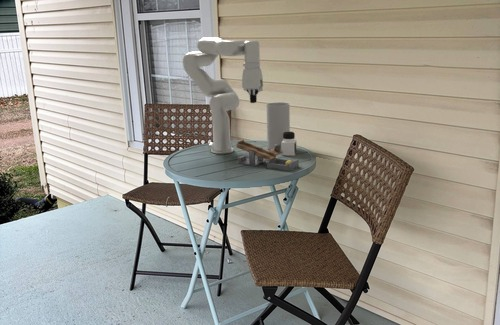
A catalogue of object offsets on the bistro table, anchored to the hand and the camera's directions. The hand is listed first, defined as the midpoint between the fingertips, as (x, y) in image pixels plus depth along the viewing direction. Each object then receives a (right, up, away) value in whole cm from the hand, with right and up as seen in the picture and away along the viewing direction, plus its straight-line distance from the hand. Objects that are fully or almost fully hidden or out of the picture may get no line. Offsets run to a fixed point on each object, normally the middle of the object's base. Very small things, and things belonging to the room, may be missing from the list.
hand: (253, 102), depth 260 cm
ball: (+17, -31, -14) cm, 38 cm away
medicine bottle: (+19, -26, +13) cm, 35 cm away
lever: (+4, -24, -1) cm, 25 cm away
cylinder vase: (+14, -23, +26) cm, 37 cm away
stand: (-2, -31, -1) cm, 31 cm away
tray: (+14, -33, -11) cm, 37 cm away
